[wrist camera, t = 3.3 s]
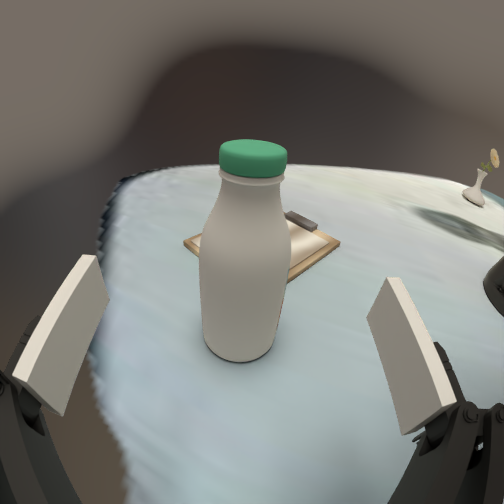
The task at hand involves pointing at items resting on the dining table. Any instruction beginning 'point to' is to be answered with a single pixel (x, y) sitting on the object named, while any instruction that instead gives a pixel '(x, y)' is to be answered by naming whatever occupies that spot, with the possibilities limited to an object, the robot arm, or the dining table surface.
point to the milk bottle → (245, 252)
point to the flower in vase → (480, 181)
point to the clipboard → (294, 244)
